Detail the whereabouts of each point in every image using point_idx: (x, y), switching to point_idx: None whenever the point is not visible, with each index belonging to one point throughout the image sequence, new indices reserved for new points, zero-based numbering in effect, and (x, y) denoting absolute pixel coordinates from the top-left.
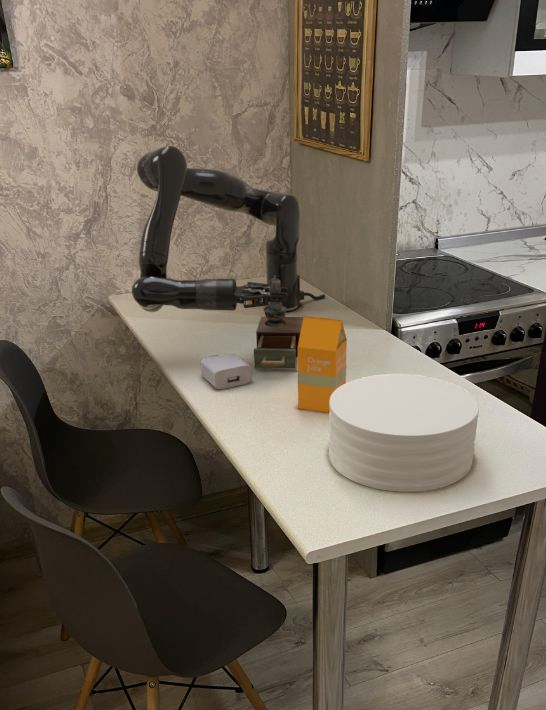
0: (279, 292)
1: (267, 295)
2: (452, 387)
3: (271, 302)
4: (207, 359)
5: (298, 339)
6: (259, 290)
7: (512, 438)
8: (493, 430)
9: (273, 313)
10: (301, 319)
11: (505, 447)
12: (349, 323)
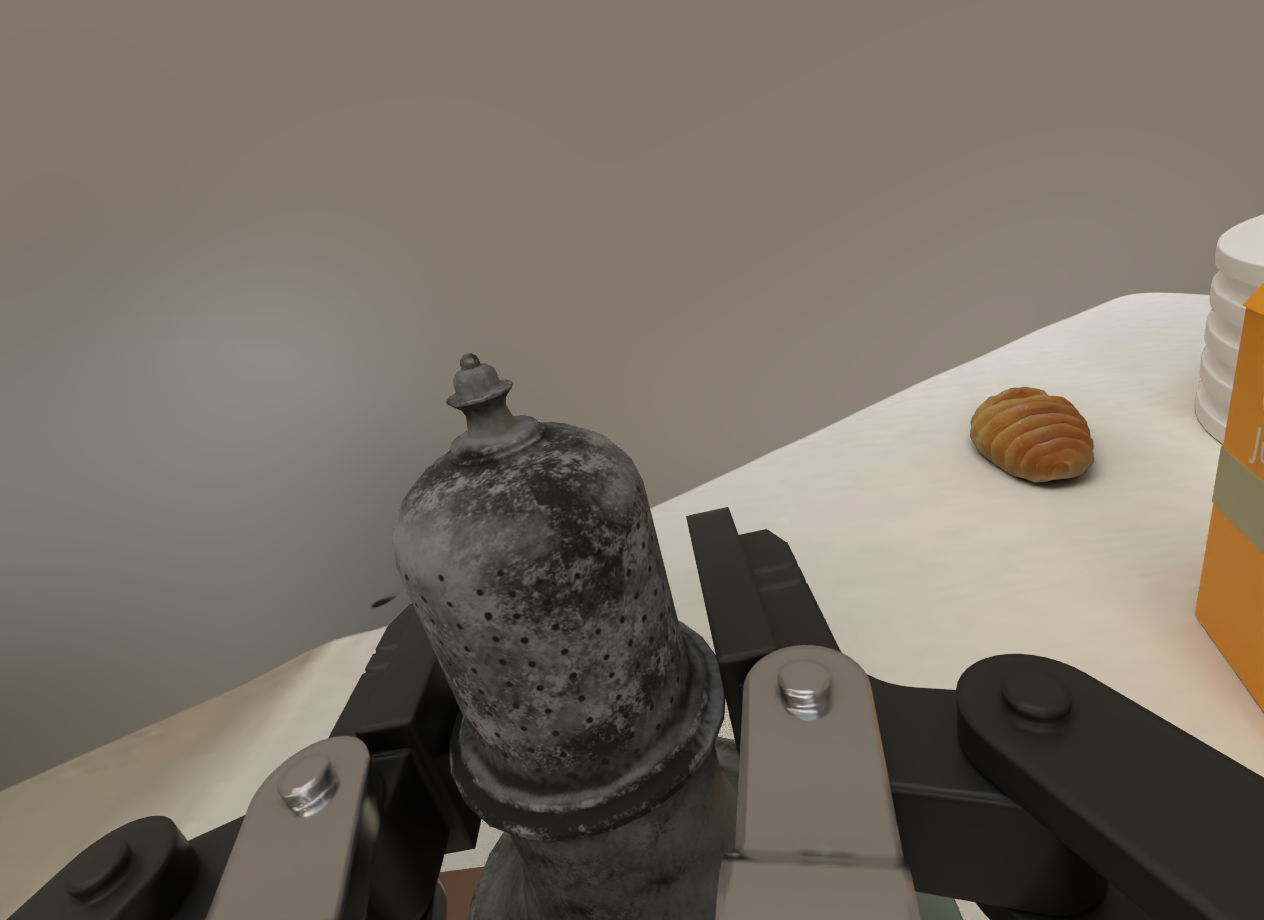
0: (702, 562)
1: (1020, 657)
2: (1261, 226)
3: (713, 835)
4: None
5: None
6: (834, 890)
7: (1099, 348)
8: (1081, 366)
9: None
10: None
11: (1162, 344)
12: (167, 769)
